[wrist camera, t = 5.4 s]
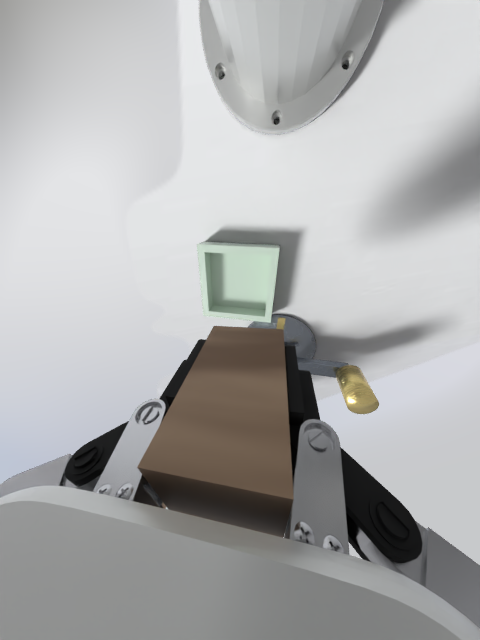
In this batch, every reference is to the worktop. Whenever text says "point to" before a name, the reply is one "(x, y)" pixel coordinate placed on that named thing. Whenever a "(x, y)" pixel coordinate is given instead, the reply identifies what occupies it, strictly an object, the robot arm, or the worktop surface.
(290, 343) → the crank base
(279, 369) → the block
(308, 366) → the crank
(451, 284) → the worktop surface
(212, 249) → the tray
